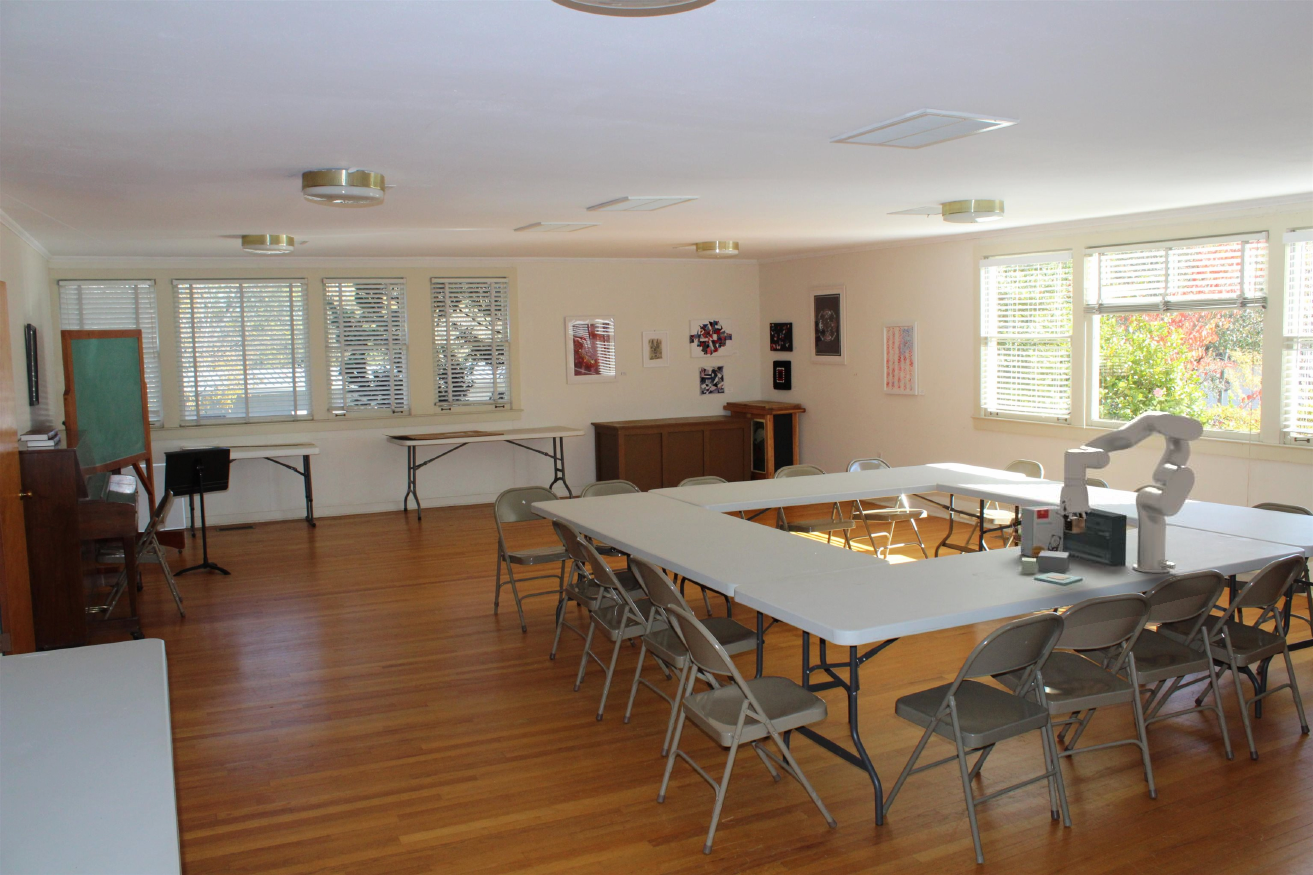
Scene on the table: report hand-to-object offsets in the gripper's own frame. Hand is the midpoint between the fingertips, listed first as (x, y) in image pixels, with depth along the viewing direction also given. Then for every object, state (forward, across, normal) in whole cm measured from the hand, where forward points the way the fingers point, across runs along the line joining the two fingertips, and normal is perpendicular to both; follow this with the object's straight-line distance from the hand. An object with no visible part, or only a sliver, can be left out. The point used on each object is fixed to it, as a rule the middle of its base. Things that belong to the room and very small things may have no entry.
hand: (1074, 529), depth 350 cm
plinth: (+17, 0, -10) cm, 20 cm away
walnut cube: (+1, 0, 0) cm, 1 cm away
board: (+17, +11, +4) cm, 21 cm away
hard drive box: (+18, -13, -32) cm, 39 cm away
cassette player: (+18, -26, -18) cm, 36 cm away
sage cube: (+17, +13, -10) cm, 23 cm away
